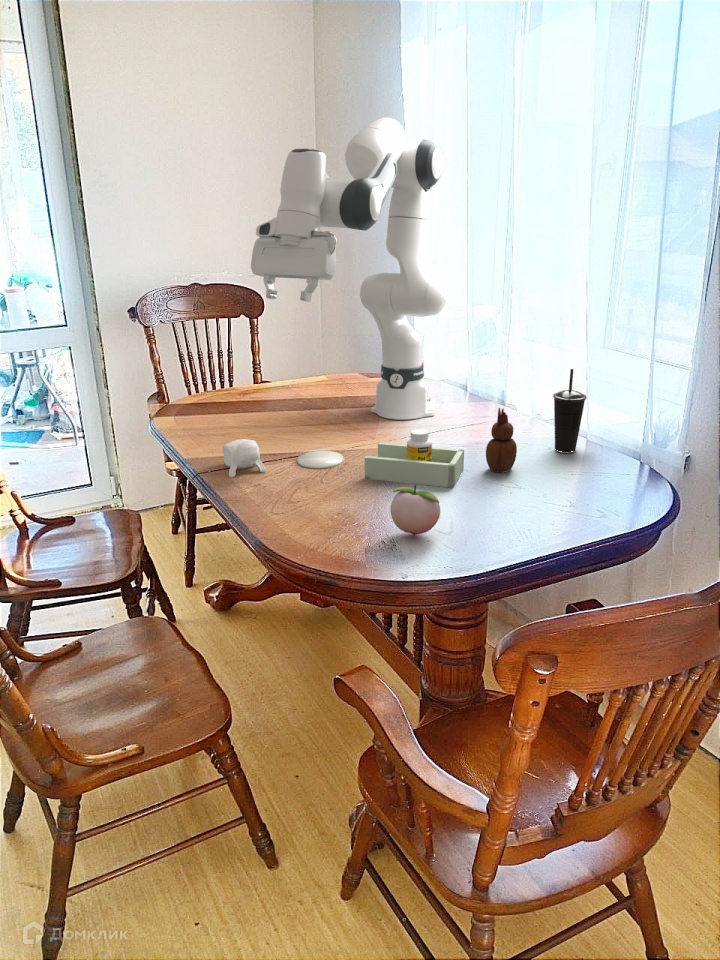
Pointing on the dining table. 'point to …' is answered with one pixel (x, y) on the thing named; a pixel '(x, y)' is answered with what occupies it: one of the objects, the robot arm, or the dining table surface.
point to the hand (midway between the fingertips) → (287, 299)
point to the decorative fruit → (414, 510)
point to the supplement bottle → (419, 446)
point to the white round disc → (320, 459)
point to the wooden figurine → (501, 445)
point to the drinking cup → (567, 417)
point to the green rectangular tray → (415, 466)
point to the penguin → (242, 455)
